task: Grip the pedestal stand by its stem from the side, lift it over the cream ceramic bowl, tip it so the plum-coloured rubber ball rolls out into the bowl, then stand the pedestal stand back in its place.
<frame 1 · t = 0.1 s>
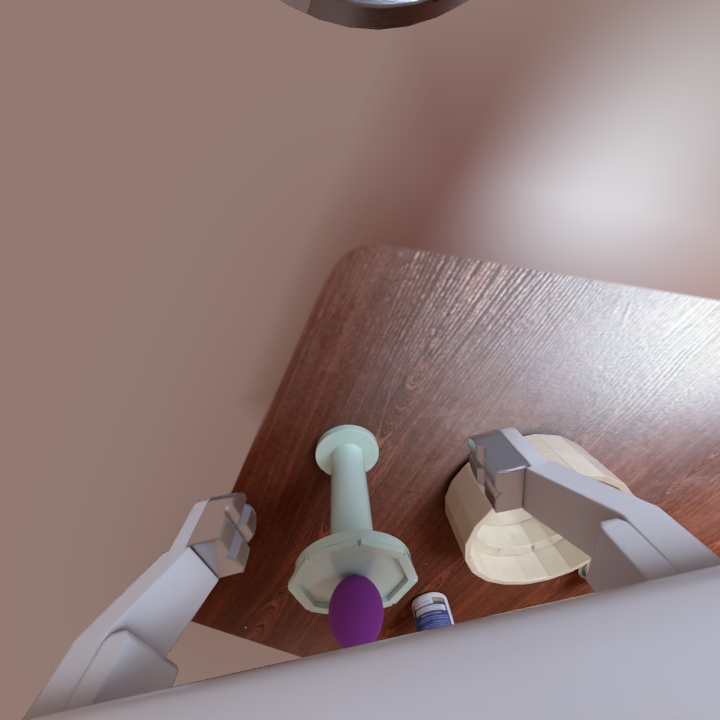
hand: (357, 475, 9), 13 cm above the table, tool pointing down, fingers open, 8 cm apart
pill bottle: (428, 598, 39), on the table
bowl: (512, 487, 30), on the table
pedestal stand: (347, 449, 25), on the table, touching ball
ball: (356, 610, 14), point 12 cm above the table, touching pedestal stand
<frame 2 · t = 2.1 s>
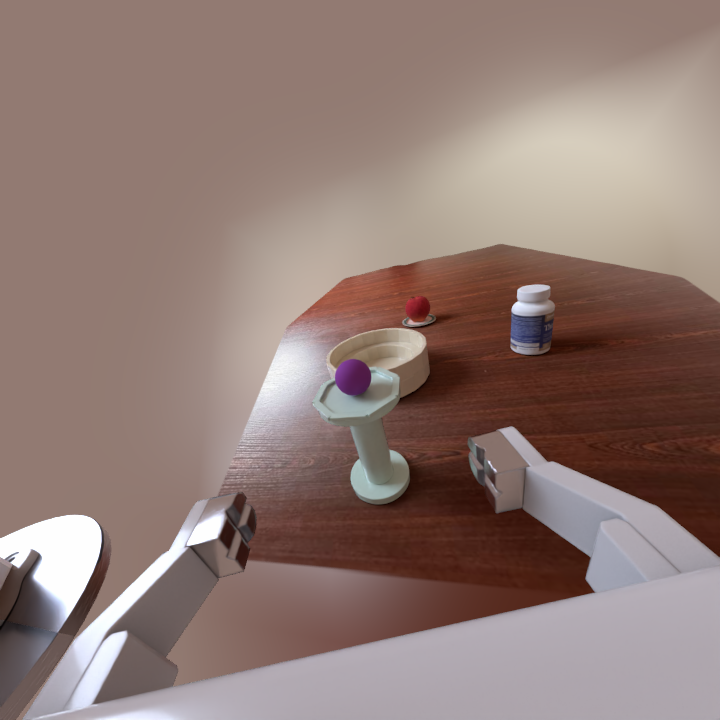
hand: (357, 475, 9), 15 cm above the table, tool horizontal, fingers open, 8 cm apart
pill bottle: (529, 349, 42), on the table
bowl: (381, 376, 44), on the table
pedestal stand: (380, 477, 27), on the table, touching ball
ball: (353, 377, 21), point 12 cm above the table, touching pedestal stand
apple: (419, 322, 63), on the table
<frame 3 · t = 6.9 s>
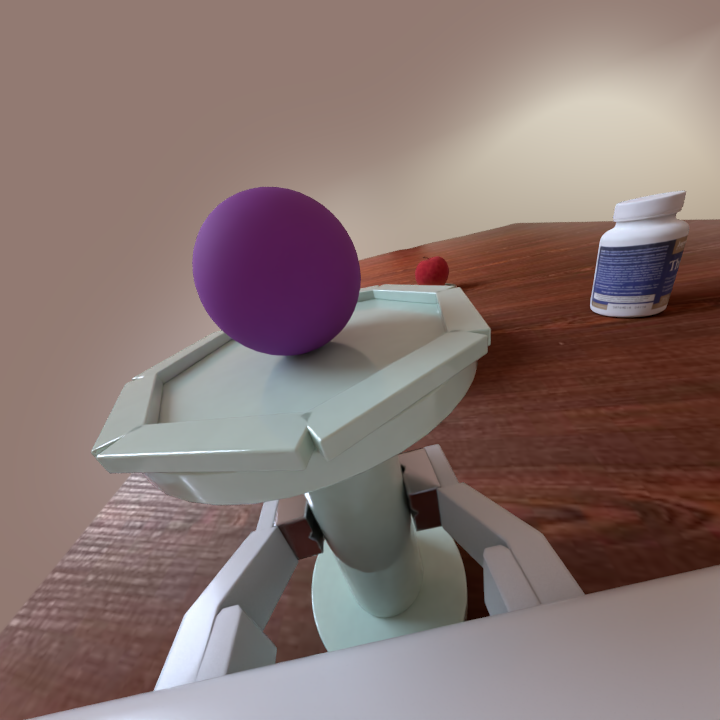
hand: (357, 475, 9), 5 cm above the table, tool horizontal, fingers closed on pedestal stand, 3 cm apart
pill bottle: (624, 311, 26), on the table
pedestal stand: (388, 578, 11), on the table, touching ball, gripper
ball: (283, 279, 5), point 12 cm above the table, tilted 14°, touching pedestal stand
apple: (433, 293, 48), on the table
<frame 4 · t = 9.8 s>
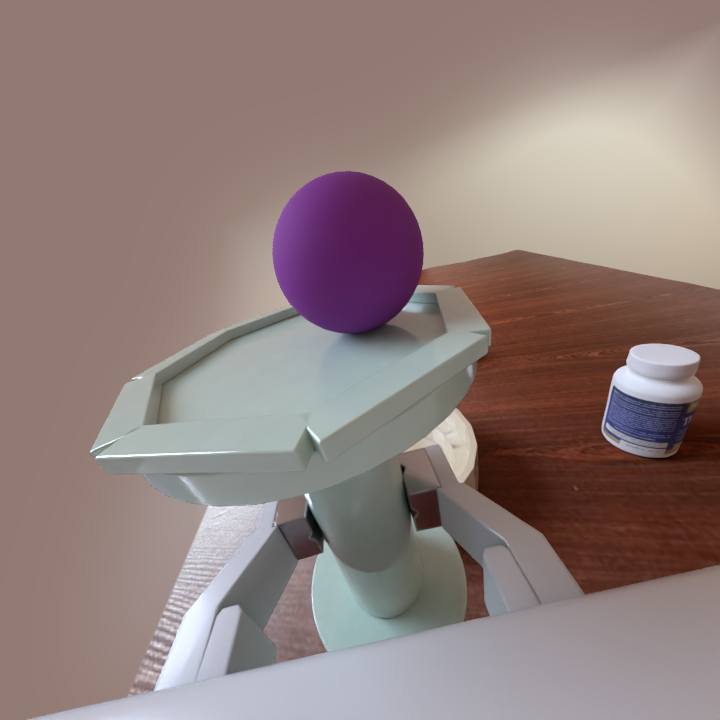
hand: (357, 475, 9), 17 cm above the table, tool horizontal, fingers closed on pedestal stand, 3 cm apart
pill bottle: (636, 440, 26), on the table
bowl: (397, 475, 29), on the table
pedestal stand: (388, 578, 11), point 12 cm above the table, touching ball, gripper
ball: (348, 260, 5), point 24 cm above the table, tilted 52°, touching pedestal stand
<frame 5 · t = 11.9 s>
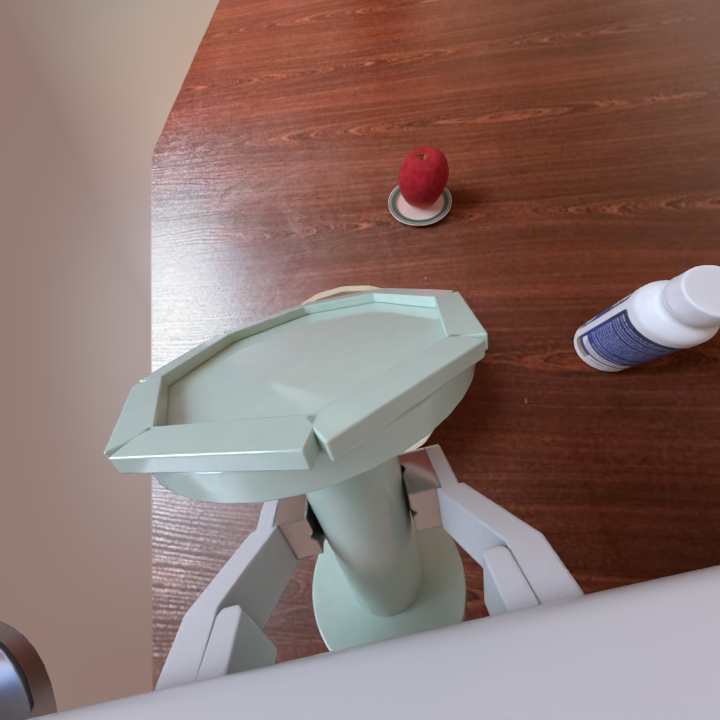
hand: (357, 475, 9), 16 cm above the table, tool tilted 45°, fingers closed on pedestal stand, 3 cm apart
pill bottle: (599, 347, 26), on the table
bowl: (358, 383, 27), on the table
pedestal stand: (388, 577, 11), point 13 cm above the table, tilted 45°, touching gripper
apple: (418, 206, 34), on the table
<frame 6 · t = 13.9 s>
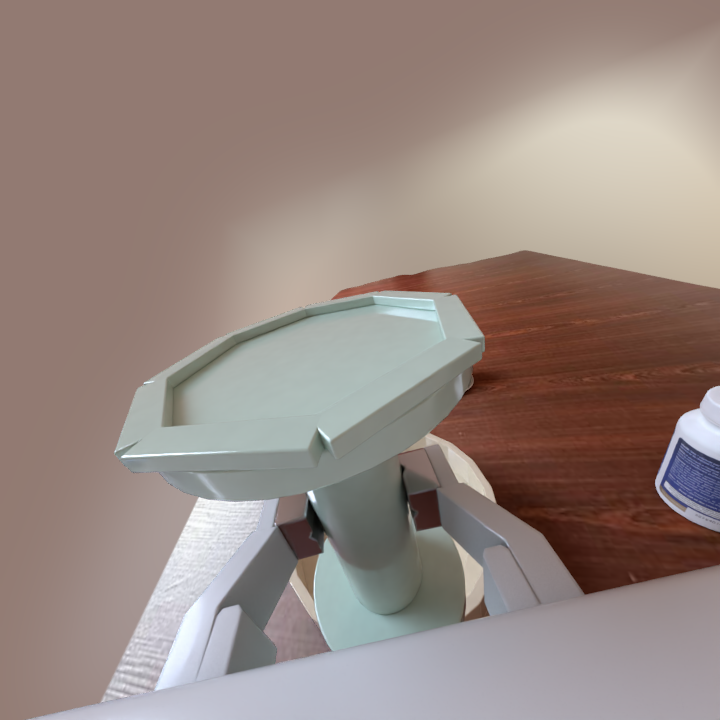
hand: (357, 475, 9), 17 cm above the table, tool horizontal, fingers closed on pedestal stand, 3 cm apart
pill bottle: (704, 504, 20), on the table
bowl: (395, 540, 23), on the table
pedestal stand: (388, 576, 11), point 12 cm above the table, touching gripper
when the fingers open (5 cm above the table, at t = 19.5 s): pedestal stand stays where it is, on the table.
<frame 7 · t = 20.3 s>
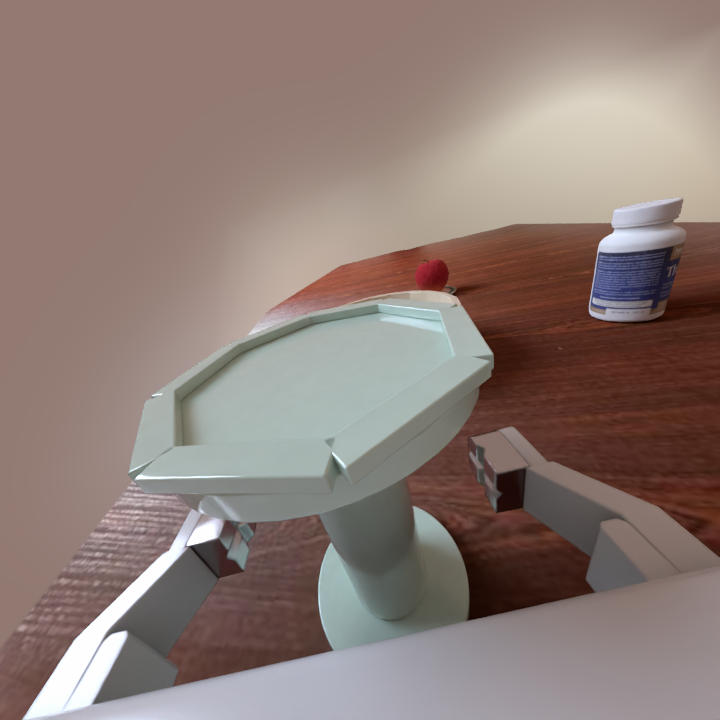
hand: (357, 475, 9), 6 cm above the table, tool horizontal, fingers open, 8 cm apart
pill bottle: (622, 315, 26), on the table
bowl: (384, 361, 29), on the table
pedestal stand: (392, 581, 11), on the table
apple: (433, 296, 48), on the table
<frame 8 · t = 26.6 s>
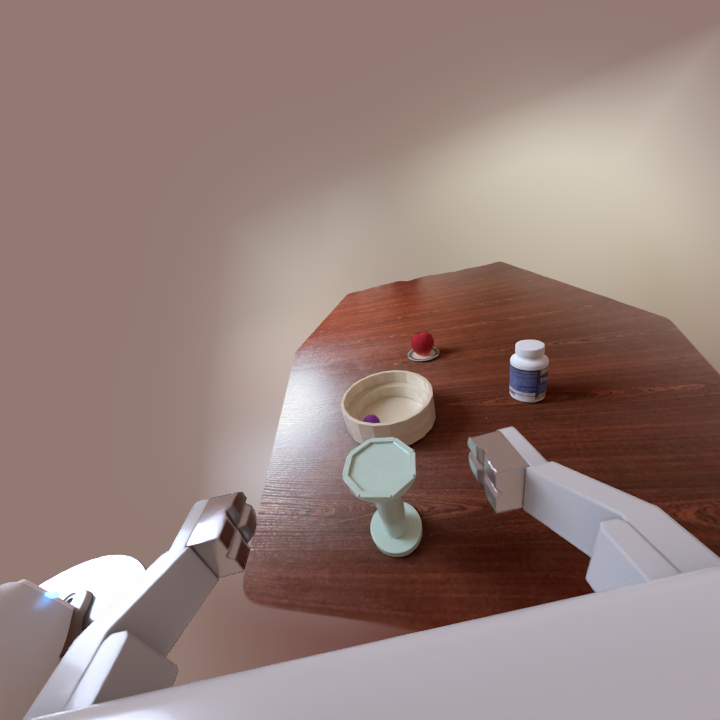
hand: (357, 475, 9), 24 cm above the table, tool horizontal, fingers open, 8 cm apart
pill bottle: (526, 395, 46), on the table
bowl: (390, 418, 48), on the table
pedestal stand: (396, 528, 31), on the table
ball: (371, 423, 45), point 2 cm above the table, tilted 146°, touching bowl
apple: (423, 355, 67), on the table
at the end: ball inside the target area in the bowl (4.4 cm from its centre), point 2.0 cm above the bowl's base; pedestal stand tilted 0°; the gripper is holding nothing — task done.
